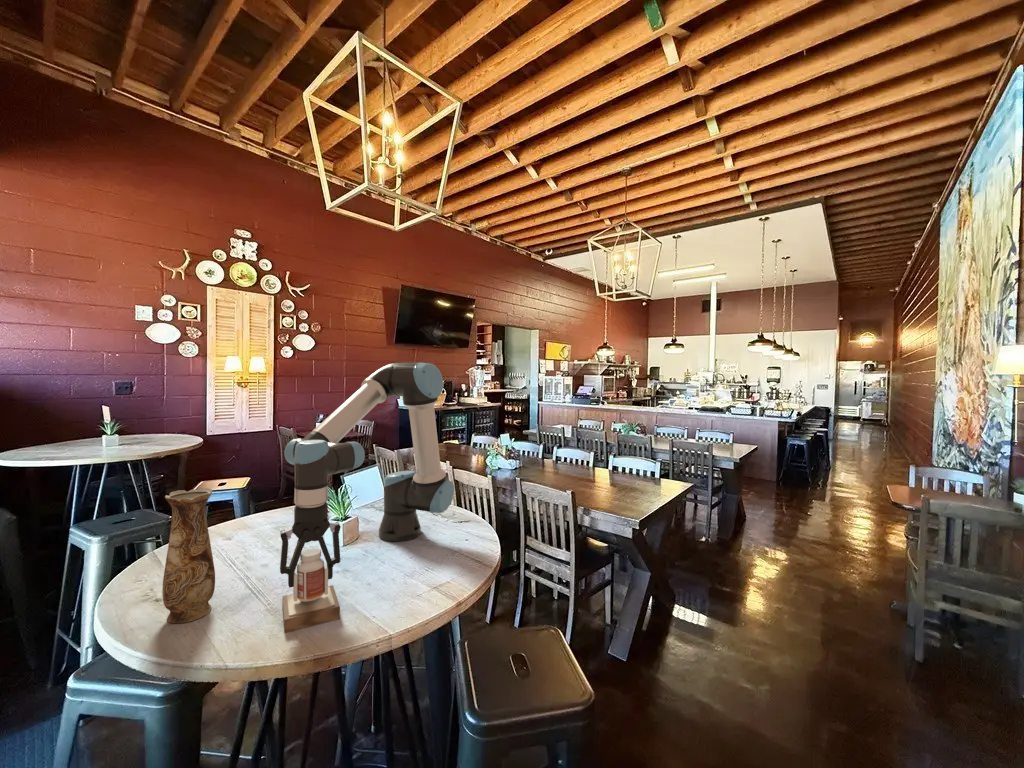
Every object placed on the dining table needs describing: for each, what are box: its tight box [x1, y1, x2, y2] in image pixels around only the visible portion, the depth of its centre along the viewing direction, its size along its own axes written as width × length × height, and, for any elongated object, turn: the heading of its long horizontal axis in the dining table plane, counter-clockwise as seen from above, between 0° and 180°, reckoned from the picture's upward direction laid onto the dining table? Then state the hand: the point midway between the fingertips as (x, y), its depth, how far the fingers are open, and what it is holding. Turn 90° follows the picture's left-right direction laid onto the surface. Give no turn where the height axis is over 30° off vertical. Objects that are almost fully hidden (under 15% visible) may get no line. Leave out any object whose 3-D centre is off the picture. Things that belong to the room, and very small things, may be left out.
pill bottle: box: [296, 548, 325, 602], centre depth 107 cm, size 6×6×11 cm
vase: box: [161, 487, 216, 624], centre depth 106 cm, size 10×11×30 cm
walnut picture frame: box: [281, 585, 341, 634], centre depth 108 cm, size 12×12×3 cm
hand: (310, 595), depth 107 cm, fingers closed on pill bottle, 6 cm apart
